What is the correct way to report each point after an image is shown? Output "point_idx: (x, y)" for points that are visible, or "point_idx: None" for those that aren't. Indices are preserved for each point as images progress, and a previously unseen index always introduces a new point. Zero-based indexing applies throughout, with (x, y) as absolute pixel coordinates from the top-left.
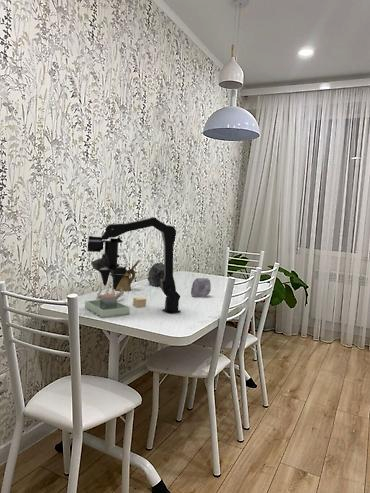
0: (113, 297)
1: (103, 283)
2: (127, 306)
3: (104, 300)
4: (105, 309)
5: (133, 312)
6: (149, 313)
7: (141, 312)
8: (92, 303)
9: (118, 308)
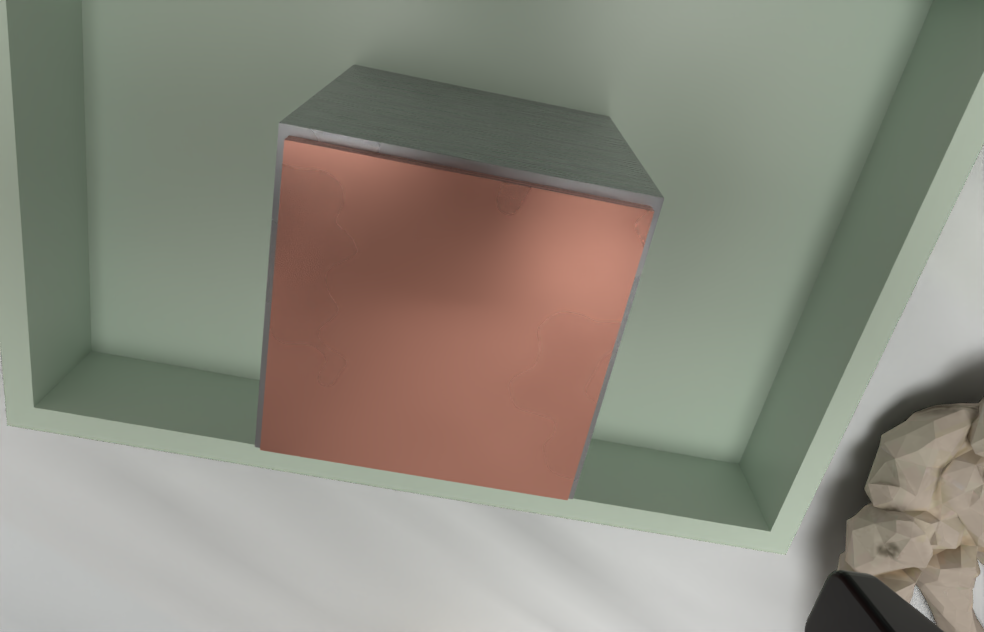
0: (270, 365)
1: (904, 615)
2: (92, 435)
3: (370, 120)
4: (341, 76)
5: (174, 476)
6: (26, 600)
7: (122, 556)
8: (909, 137)
9: (6, 200)
